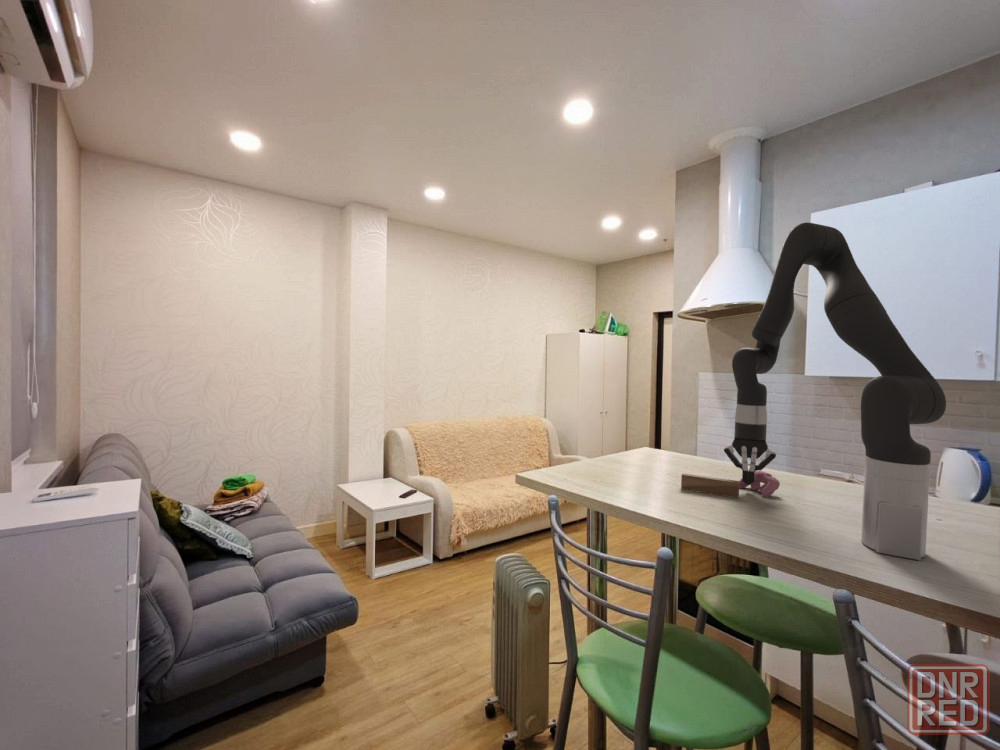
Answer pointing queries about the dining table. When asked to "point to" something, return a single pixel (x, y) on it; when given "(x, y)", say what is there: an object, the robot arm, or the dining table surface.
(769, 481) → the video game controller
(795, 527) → the dining table surface
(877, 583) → the dining table surface
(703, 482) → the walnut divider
